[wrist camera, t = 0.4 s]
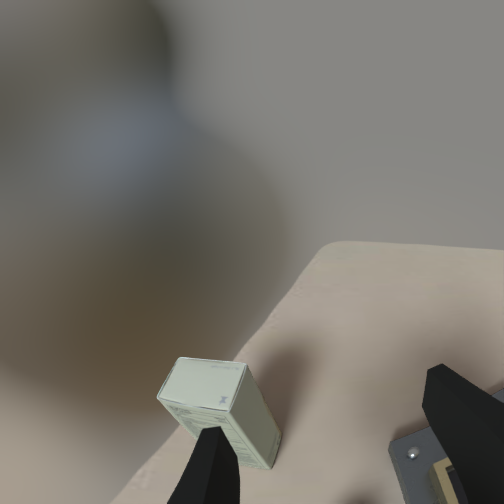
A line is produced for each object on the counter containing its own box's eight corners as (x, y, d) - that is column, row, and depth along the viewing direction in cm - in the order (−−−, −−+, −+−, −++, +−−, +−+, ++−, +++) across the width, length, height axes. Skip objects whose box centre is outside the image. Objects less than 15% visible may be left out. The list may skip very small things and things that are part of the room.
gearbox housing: (567, 522, 6) (591, 510, 4) (433, 609, 7) (446, 614, 5) (493, 374, 25) (504, 350, 23) (379, 424, 26) (382, 405, 24)
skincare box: (283, 433, 28) (252, 361, 22) (271, 472, 24) (231, 413, 18) (225, 425, 30) (178, 353, 24) (211, 460, 27) (154, 397, 21)
